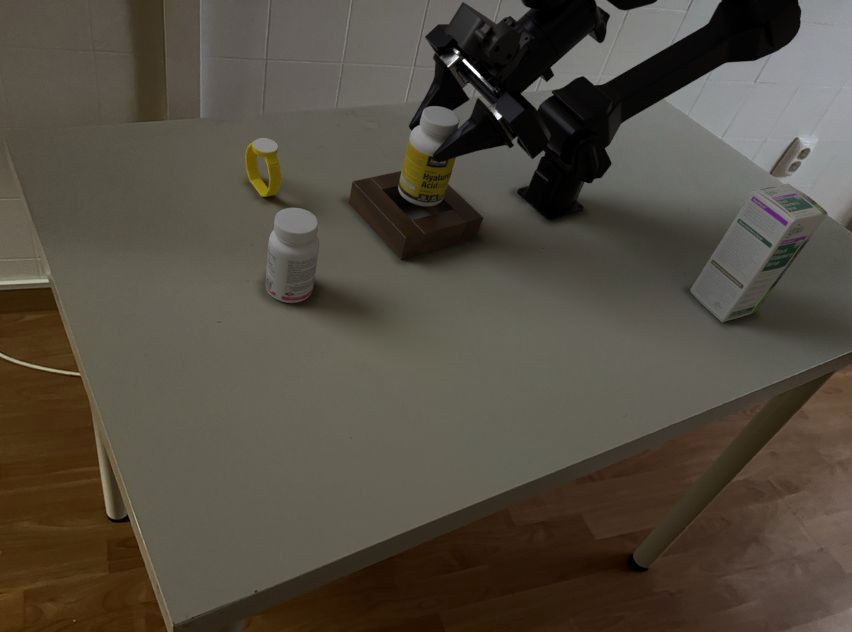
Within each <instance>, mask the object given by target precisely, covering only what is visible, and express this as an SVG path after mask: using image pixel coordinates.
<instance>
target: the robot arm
mask: <svg viewBox="0 0 852 632" xmlns="http://www.w3.org/2000/svg"><path fill="white" fill-rule="evenodd" d="M520 1H521V3H522V5H523V6H525V7H526V8H529V10H528V11H526V12H525V13H524V14H523V15H522V16H521V17H519V19H518V20H516V19H515V18H514V17H512V16H511V15H509V16H505V17H503V18H502V19H500V21H499V22H498V23H497V22H495V21H493V20H491V19H490V18H489V17H487V16H486V15H484V14H483V13H481V12H480V11H478V10H476V9H475V8H474V7H472V6H470V5H469V4H467V3H466V2H464V1H462V2H461V3H460V6H459V7H458V9H457V10H456V12H455V14H453V16H452V18H451V20H450V21H449V23H440V24H439V23H438V24H437V25H436V26H435V27H433V29H431V31H429V32H428V33H427V34H426V35H425V36H424V39H425V40H426V41H427V43H428V45H429V46H430V47H431V49H432V50H433V51H434V53H433V56H432V60H433V61H434V75H433V80H432V82H431V83H430V86H429V88H428V90H427V92H426V94H425V96H424V98H423V99H422V100H421V103H420V104H419V106H418V108H417V110H416V111H415V113H414V115H413V117H412V119H411V121H410V122H409V124H408V128H409V129H410V131H411V132H412V130H413V129H414V128H415V127H417V126H418V125H420V120H421V116H422V112H423V110H424V109H425V108H427V107H430V106H439V107H444V108H447V109H449V110H451V111H453V112H454V111H455V110H456V109H458V108H460V107H461V106H463V105H464V104H466V103H467V102H468V101H469V102H470V97H469V96H468V94H467V93H466V91H465V90H464V88H465V87H466V86H468V84H470V85H471V86H472V87H473V88H474V89H475V90H476V91H477V92H478V93H479V94H480V95H481V96H482V97H483V98H484V99H485V100H486V101H487V102H488V104H490V105H489V106H487V105H486V104H485V103H484V102H483V101H482V99H480V97H477V98H476V101H475V103H474V106H473V109H472V112H471V114H470V117H468V119H467V120H465V121H464V122H463V123H462V124H461V125H460V126H458V129H457V130H456V131H455V132H454V133H453V134H452V135H451V136H450V137H449V138H448V139H447V140H446V141H445V142H444V143H443V144H442V145H441V146H440V147H439V148H438V149H437V150H436V151H435V153H434V154H433V157H434V159H435V160H436V161H437V162H442V161H445V160H448V159H452V158H455V157H456V158H459V157H461V156H465V155H469V154H471V153H475V152H476V153H477V152H479V151H485V150H489V149H490V150H491V149H494V148H498V147H499V148H500V147H503V146H506V147H507V148H508V149H512V148H513V147H514V146H515V145H514V142H513V141H514V140H515V139H516V138H517V139H516V144H517V145H518V146H519V147H520V148H521V149H522V150H523V151H524V152H525V153H526V155H528V157H530V159H531V160H534V159H535V158H536V157H538V156H539V155H540V154H542V152H544V155H543V156H541V157H540V159H539V162H538V164H537V166H536V169H535V170H534V171H533V175H532V176H531V179H530V182H529V185H525V186H522V187H519V188H518V189H517V192H516V193H517V194H518V195H519V196H520V197H521V198H522V199H524V201H525V202H527V203H528V204H529V205H530V206H531V207H532V208H534V209H535V210H536V211H537V212H538V213H539V214H540V215H541V216H543V217H544V218H545V219H546V220H548V221H554V220H557V219H560V218H563V217H568V216H571V215H574V214H577V213H581V212H583V211H584V209H585V206H584V205H583V204H582V203H581V202H579V201H578V200H577V199H578V198H579V195H580V194H581V191H582V188H583V186H584V184H593V182H594V180H597V179H602V178H603V177H604V175H605V174H606V173H607V171H608V170H609V169H610V167H611V166H612V164H613V162H612V161H611V158H610V156H609V154H608V152H607V150H606V148H608V147H609V146H610V144H611V143H612V142H613V140H614V138H615V137H616V135H617V132H618V131H619V129H620V127H621V125H622V124H623V123H624V122H626V121H628V120H629V119H631V118H633V117H635V116H636V115H638V114H640V113H642V112H644V111H645V110H647V109H648V108H650V107H652V106H654V105H655V104H657V103H659V102H660V101H662V100H664V99H666V98H668V97H669V96H671V95H672V94H674V93H676V92H678V91H680V90H682V89H683V88H685V87H686V86H688V85H690V84H692V83H694V82H695V81H697V80H698V79H700V78H702V77H704V76H706V75H707V74H709V73H710V72H712V71H714V70H716V69H718V68H719V67H721V66H723V65H724V64H727V63H728V64H730V63H744V62H755V61H757V60H760V59H762V58H765V57H768V56H769V55H772V54H774V53H777V52H778V51H780V50H781V49H784V48H785V47H786V46H788V45H789V44H790V43H791V42H792V41H793V40H794V39H795V38H796V37H797V34H799V31H800V29H801V25H802V24H801V23H802V20H801V18H802V8H801V6H800V3H799V0H721V1H720V2H719V3H718V4H717V6H716V8H715V9H714V11H713V13H712V14H711V17H710V19H709V20H708V23H706V24H705V25H703V26H702V27H700V28H697V30H695V31H693V32H691V33H690V34H688V35H686V36H684V37H683V38H681V39H679V40H678V41H676V42H674V43H673V44H670V45H669V46H667V47H665V48H664V49H662V50H660V51H659V52H657V53H655V54H653V55H652V56H650V57H648V58H646V59H645V60H643V61H641V62H640V63H638V64H636V65H634V66H632V67H630V68H629V69H628V70H625V71H624V72H622V73H620V74H619V75H617V76H615V77H614V78H612V79H609V80H608V81H607V82H605V83H603V84H594V83H593V82H592V81H590V80H589V79H588V78H586V77H585V76H584V75H582V76H579V77H576V78H574V79H573V80H571V81H570V82H569V83H567V84H565V86H563V87H560V88H556V89H553V90H552V91H551V94H552V95H550V96H549V97H547V98H546V99H545V100H543V101H542V102H541V103H540V104H539V106H538V108H536V107H535V106H534V105H533V104H532V103H531V102H530V101H529V100H528V99H526V97H525V96H524V95H523V92H525V91H526V90H527V89H528V88H530V86H532V85H533V84H534V83H535V82H536V81H537V80H538V79H539V78H541V79H542V80H543V81H545V82H546V83H548V82H549V81H550V80H551V79H553V77H555V73H554V71H553V69H552V67H553V66H555V65H556V64H557V63H558V62H559V61H560V60H561V59H562V58H563V57H565V56H566V55H567V54H568V53H569V52H570V51H572V49H574V48H575V47H576V46H577V45H579V43H581V42H582V41H583V40H584V39H585V38H587V36H589V37H591V38H592V39H593V40H594V41H595V42H597V43H598V44H602V43H604V41H605V39H606V36H607V31H608V30H607V29H608V28H607V27H608V23H609V20H610V18H611V15H610V13H608V12H607V11H606V10H604V9H603V8H602V7H600V6H599V5H598V3H597V1H596V0H520ZM606 1H607V2H608V3H609V4H610V5H612V6H613V7H615V8H616V9H618V10H619V11H631V10H635V9H639V8H643V7H646V6H650V5H653V4H655V3H657V2H658V0H606Z"/></svg>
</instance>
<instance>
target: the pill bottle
mask: <svg viewBox="0 0 852 632" xmlns="http://www.w3.org/2000/svg"><path fill="white" fill-rule="evenodd" d="M318 230H319V220H318V218H317V217H316V215H315V214H314V213H313V212H311V211H309V210H307V209H304V208H300V207H286V208H283V209H281V210H279V211H278V212H277V213H276V214H275V216H274V223H273V230H271V233H270V235H269V238H268V244H267V245H268V247H267V259H266V270H265V271H266V272H265V289H266V292H267V293H268V294H269V295H270V296H271V297H272V298H273V299H275V300H277V301H279V302H283V303H287V304H297V303H301V302H303V301H305V300H307V299H308V298H309V297H310V296H311V295H312V293H313V290H314V285H315V279H316V272H317V265H318V264H317V263H318V256H319V251H320V239H319V237H318Z"/></svg>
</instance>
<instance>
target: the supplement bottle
mask: <svg viewBox="0 0 852 632" xmlns="http://www.w3.org/2000/svg"><path fill="white" fill-rule="evenodd" d="M460 121H461V119H460V116H459V115H458V114H457V113H456V112H455V111H454V110H453V111H451V110H449V109H447V108H444V107H439V106H430V107H427V108H425V109H424V110H423V112H422V116H421V120H420V125H418V126H417V127H415V128H414V129H413V130H412V131H411V132H410V134H409V138H408V142H407V146H406V150H405V155H404V159H403V163H402V168H401V170H400V171H401V176H400V180H399V185H398V190H399V193H400V194H401V196H402V197H403V198H404V199H406V200H407V201H409V202H411V203H410V204H413V205H415V206H419V207H424V206H434V205H437V204H439V203H440V202H441V201H442V200H443V198H444V196H445V193H446V190H447V186H448V185H449V182H450V179H451V175H452V172H453V169H454V165H455V162H456V159H457V157H455V158H452V159H448V160H445V161H442V162H437V161H436V160H435V159H434V157H433V154H434V153H435V151H436V150H437V149H438V148H439V147H440V146H441V145H442V144H443V143H444V142H445V141H446V140H447V139H448V138H449V137H450V136H451V135H452V134H453V133H454V132H455V131H456V130H457V129H458V128H459V125H460Z"/></svg>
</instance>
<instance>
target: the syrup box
mask: <svg viewBox="0 0 852 632" xmlns="http://www.w3.org/2000/svg"><path fill="white" fill-rule="evenodd" d="M827 216H828V212H827V210H825V208H823V207H822V206H821V204H818V202H816V201H815V200H814V199H813V198H811V197H810V196H808V195H807V194H806V193H804V192H803V191H801V190H799V189H798V188H796V187H795V186H792V185H791V184H790V183H785V184H783V185H779V186H770V187H764V188H760V189H753V190H752V191H751V193H750V195H749V196H748V198H747V200H746V201H745V202H744V204H743V205H742V207H741V208H740V210H739V212H738V214H737V215H736V216H735V218H734V220H733V221H732V223H731V224H730V225H729V228H728V229H727V230H726V232H725V234H724V235H723V237H722V239H721V240H720V242H719V243H718V245H717V246H716V248H715V250H714V251H713V252H712V255H711V256H710V257H709V259H708V260H707V262H706V264H705V265H704V267H703V269H702V270H701V272H700V273H699V275H698V276H697V278H696V279H695V281H694V282H693V284H692V285H691V287H690V290H689V292H690V293H691V294H692V295H693V297H694V298H695V299H697V301H698V302H699V303H700V304H701V305H703V307H705V308H706V309H707V310H708V311H709V312H710V313H711V314H712V315H713V316H714V317H715V318H717V319H718V320H719V321H720V322H721V323H727V321H731V320H736V319H739V318H743V317H745V316H746V317H747V316H749V315H752V314H756V313H757V311H758V310H759V308H760V307H761V306H762V304H763V303H764V302H765V300H766V299H767V297H769V294H770V293H771V292H772V291H773V290H774V288H775V286H776V285H777V284H778V283H779V281H780V280H781V279H782V277H783V275H785V273H786V272H787V270H788V269H789V268H790V267H791V266H792V264H793V262H794V261H795V259H796V258H797V257H798V256H799V255H800V253H801V252H802V251H803V249H804V248H805V246H806V245H807V244H808V242H809V241H810V240H811V238H812V237H813V235H814V234H815V233H816V231H817V230H818V229H819V227H820V226H821V225H822V223H823V222H824V221H825V219H826V218H827Z"/></svg>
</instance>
